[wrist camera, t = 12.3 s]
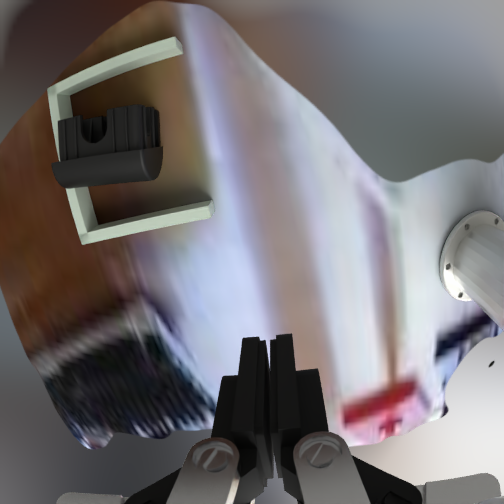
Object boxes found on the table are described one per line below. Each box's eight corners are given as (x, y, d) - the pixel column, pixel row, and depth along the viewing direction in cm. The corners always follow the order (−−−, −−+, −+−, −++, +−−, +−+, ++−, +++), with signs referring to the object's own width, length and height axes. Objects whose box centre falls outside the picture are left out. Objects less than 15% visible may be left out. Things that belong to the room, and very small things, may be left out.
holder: (181, 44, 26) (174, 36, 23) (215, 210, 32) (211, 217, 30) (60, 90, 27) (47, 88, 25) (93, 236, 34) (82, 244, 31)
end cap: (86, 182, 31) (53, 194, 25) (82, 122, 29) (47, 122, 22) (166, 174, 31) (145, 185, 25) (163, 108, 29) (140, 102, 22)
